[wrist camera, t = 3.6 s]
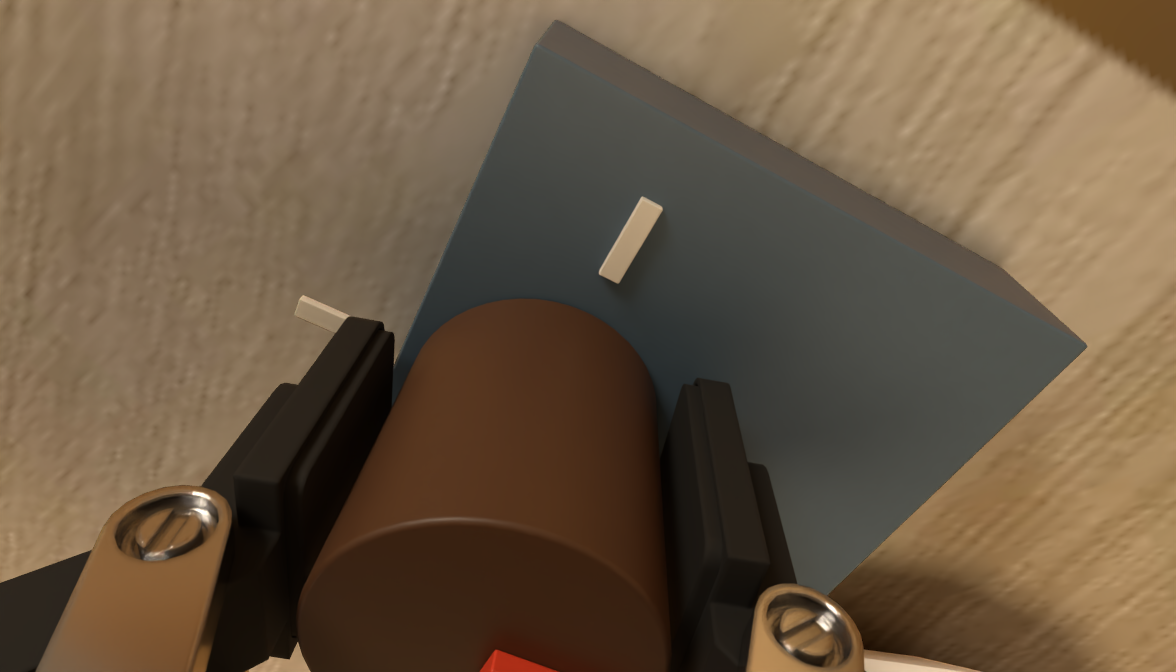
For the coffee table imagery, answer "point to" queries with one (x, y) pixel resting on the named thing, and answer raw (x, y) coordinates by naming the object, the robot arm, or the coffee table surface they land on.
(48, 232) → the coffee table surface
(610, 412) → the knob
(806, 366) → the panel
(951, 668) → the white vase
